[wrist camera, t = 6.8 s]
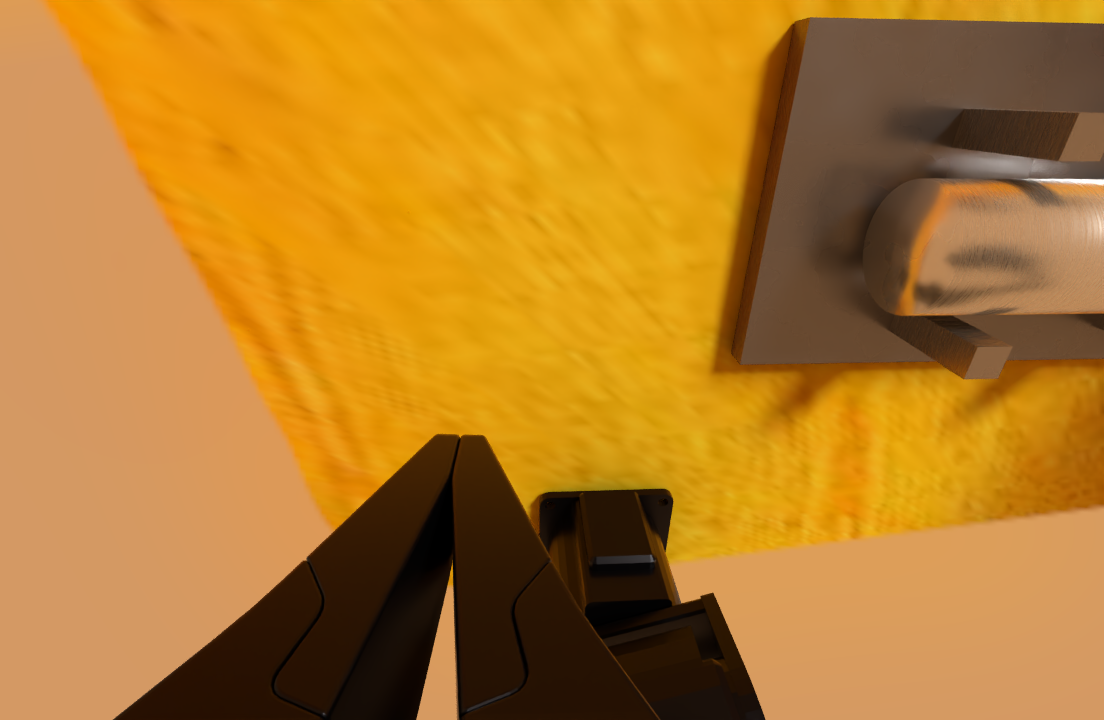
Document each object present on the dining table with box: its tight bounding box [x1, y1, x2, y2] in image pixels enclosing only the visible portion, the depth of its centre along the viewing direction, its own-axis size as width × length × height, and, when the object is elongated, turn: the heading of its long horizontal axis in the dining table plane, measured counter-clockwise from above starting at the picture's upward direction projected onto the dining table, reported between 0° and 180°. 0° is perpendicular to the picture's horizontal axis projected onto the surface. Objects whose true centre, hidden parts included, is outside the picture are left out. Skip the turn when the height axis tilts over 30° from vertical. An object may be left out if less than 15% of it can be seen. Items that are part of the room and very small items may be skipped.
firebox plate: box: [731, 17, 1104, 379], centre depth 18 cm, size 12×20×5 cm, turn 89°
